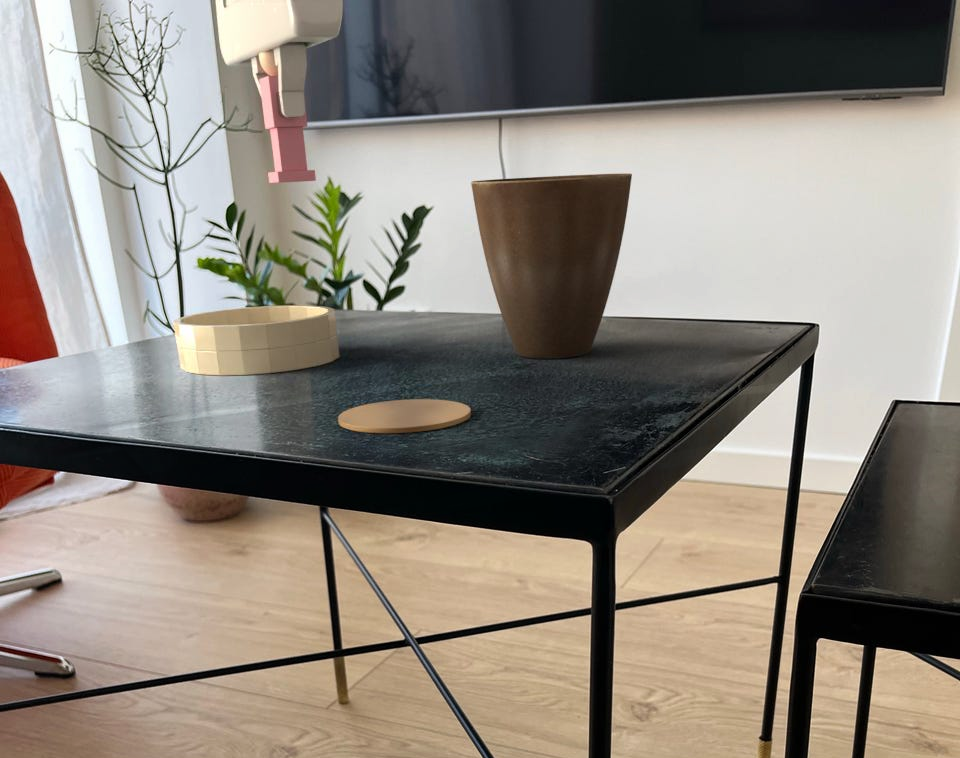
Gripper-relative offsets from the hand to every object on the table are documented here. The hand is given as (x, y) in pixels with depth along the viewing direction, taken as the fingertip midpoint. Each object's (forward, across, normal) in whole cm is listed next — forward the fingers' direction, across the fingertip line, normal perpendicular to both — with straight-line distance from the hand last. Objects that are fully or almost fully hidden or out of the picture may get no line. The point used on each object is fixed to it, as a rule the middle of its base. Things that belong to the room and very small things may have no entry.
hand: (284, 119), depth 82 cm
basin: (+21, -13, -1) cm, 25 cm away
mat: (+21, +18, +1) cm, 28 cm away
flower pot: (+22, 0, +25) cm, 33 cm away
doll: (+5, 0, 0) cm, 5 cm away
